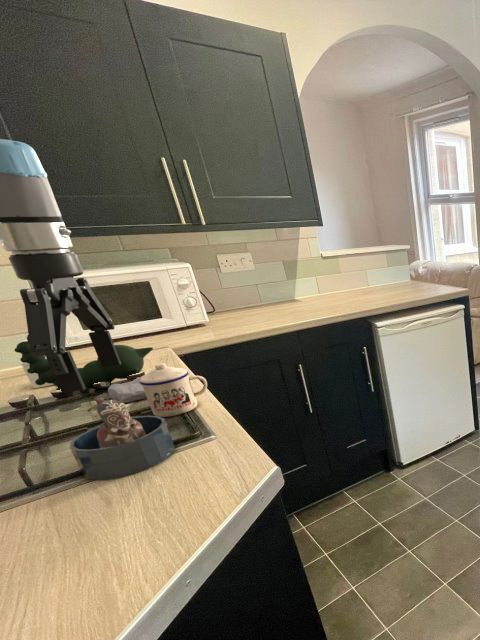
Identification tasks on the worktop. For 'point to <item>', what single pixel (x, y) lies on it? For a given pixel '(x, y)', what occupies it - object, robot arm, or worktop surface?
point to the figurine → (116, 424)
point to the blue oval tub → (123, 451)
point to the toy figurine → (87, 366)
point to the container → (33, 376)
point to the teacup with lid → (170, 390)
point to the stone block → (127, 391)
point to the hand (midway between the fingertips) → (94, 377)
